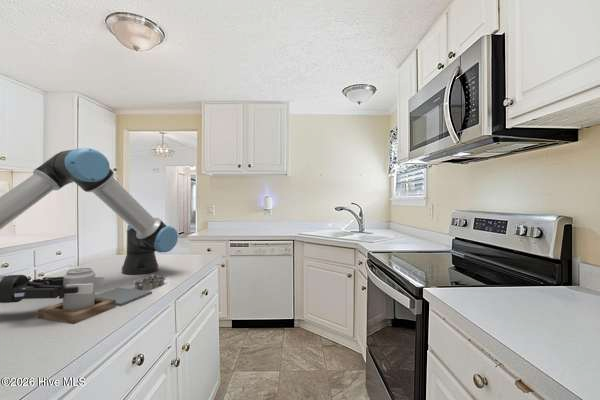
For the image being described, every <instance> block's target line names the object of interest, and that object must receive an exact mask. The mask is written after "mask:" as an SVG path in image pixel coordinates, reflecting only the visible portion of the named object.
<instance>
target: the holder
mask: <svg viewBox="0 0 600 400" xmlns="http://www.w3.org/2000/svg"><path fill="white" fill-rule="evenodd" d="M114 308H117V306H116V300H112V299H105V298H98V297H95V299H94V305H93V306H90V307H87V308H85V309H82V310H79V311H76V312H74V311H68V310H63V301H62V302H59V303H56V304H53V305H50V306H45V307H44V308H40V309H38V310H37V318H38V319H42V320H48V321H53V320H54V322H59V321H62V322H61V323H65V322H67V323H66V324H71V323H72V325H74V324H77V323H79V322H82V321H84V320H86V319H89V318H91V317H94V316H97V315H100V314H102V313H104V312H106V311H109V310H111V309H114ZM81 320H82V321H81ZM76 322H77V323H76Z"/></svg>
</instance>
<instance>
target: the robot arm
mask: <svg viewBox="0 0 600 400" xmlns="http://www.w3.org/2000/svg"><path fill="white" fill-rule="evenodd" d="M110 166H111V165H110V161H109V159H108V157H106V156H105V154H103V153H102V152H100V151H99V150H96V149H93V148H87V147H86V148H85V147H80V148H79V147H78V148H74V149H69V150H67V149H66V150H63V151H62V150H61V151H59V152H58V153H56V154H54V155H53V156H52V157H50V158H48V159H47V160H46V161H44V162H43V163H42V164H41V165H40V166H38V167H36V168H35V169H33V172H32V173H33V174H32V175H31V176H29V177H28V178H26V179H25V180H23V181H22V182H21V183H19V184H17V185H15V186H14V187H13V188H11V189H10V190H9V191H7V192H6V193H4V194H3V195H1V196H0V230H2V229H3V228H5V226H7V225H8V224H10V223H11V222H13V221H14V220H15V219H17V218H18V217H19V216H21V215H22V214H23V213H25V212H26V211H28V210H29V209H30V208H32V207H33V206H34V205H35V204H36V203H37V204H38V202H39V201H41V200H42V199H43V198H45V197H46V196H48V195H49V194H50V193H51V192H53V191H59V190H61V189H62V188H63V187H65V186H67V185H69V184H72V183H75V184H76V185H77V186H78V187H80V188H81V189H82V190H83V191H84V193H85V192H86V193H93V194H94V195H95V196H96V197H97V198H98V199H99V200H101V201H102V202H103V203H104V204H105V205H106V206H107V207H108V208H109V209H111V210H112V211H113V212H114V213H115V214H116V215H117V216H118V217H120V219H122V220H123V222H125V223H126V224H128V225H127V229H126V255H125V256H126V257H125V258H124V263H123V265H122V266H121V273H122V274H125V275H143V274H144V275H145V274H150V273H151V274H152V273H154V272H156V271H158V270H159V263H158V261H157V257H156V254H155V252H157V253H160V254H161V253H168V252H171V251H172V250H173V249H174V248H175V247H176V245H177V243H178V241H179V240H178V238H179V233H178V230H177V229H176V228H175V227H173V226H171V225H166V223H164V221H163V220H162V219H160V217H153V215H151V213H150V212H148V211H147V210H146V208H144V207H143V205H141V204H140V203H139V201H137V199H135V198H134V196H132V195H131V194H130V193H129V191H127V190H126V189H125V188H124V187H123V186H122V185H121V184H120V183H119V182H118V181H117V180H116V179H115V178H114V174H115V171H113V170H112V169H111V167H110ZM63 277H64V276H57V277H56V276H54V277H51V276H50V277H48V276H47V277H46V276H45V277H43V278H36V279H35V278H34V279H32V280H30V279H29V278H28V276H26V275H24V274H8V275H5V274H3V275H0V304H1V303H2V304H9V303H12V304H13V303H19V302H21V301H22V300H28V299H29V300H31V299H34V300H36V299H41V300H42V299H57V298H59V299H60V300H61V299H63V298H64V294H65V295H74V294H92V293H93V283H90V284H70V285H65V288H64V286H63ZM104 285H105V275H101V276H96V275H95V287H97V286H104ZM59 299H58V300H59Z"/></svg>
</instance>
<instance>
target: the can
mask: <svg viewBox="0 0 600 400" xmlns="http://www.w3.org/2000/svg"><path fill="white" fill-rule="evenodd" d="M93 270H94V269H93V267H77V268H71V269H68V270H66V274H65V275H64V276H62V277H63V286H64V288H65V285H70V284H90V283H93V293H92V294H74V295H65V294H64V298H62V302H63V310H68V311H74V312H76V311H79V310H82V309H85V308H87V307H90V306H93V305H94V299H95V295H96V294H95V293H96V291H95V290H96V286H95V276H96V273H95V272H94V271H93Z"/></svg>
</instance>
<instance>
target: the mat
mask: <svg viewBox="0 0 600 400" xmlns="http://www.w3.org/2000/svg"><path fill="white" fill-rule="evenodd" d="M152 293H153V291H151V290H145V291H144V290H143V289H139V290H136V289H135V288H134V289H133V288H127V287H115V288H113V289H109V290H106V291H104V292H100V293H97V294H95V297H98V298H105V299H112V300H116V307H123V306H125V305H127V304H130V303H132V302H133V303H134V301H137V300H140V299H142V298H144V297H148V296H149V295H152Z"/></svg>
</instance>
